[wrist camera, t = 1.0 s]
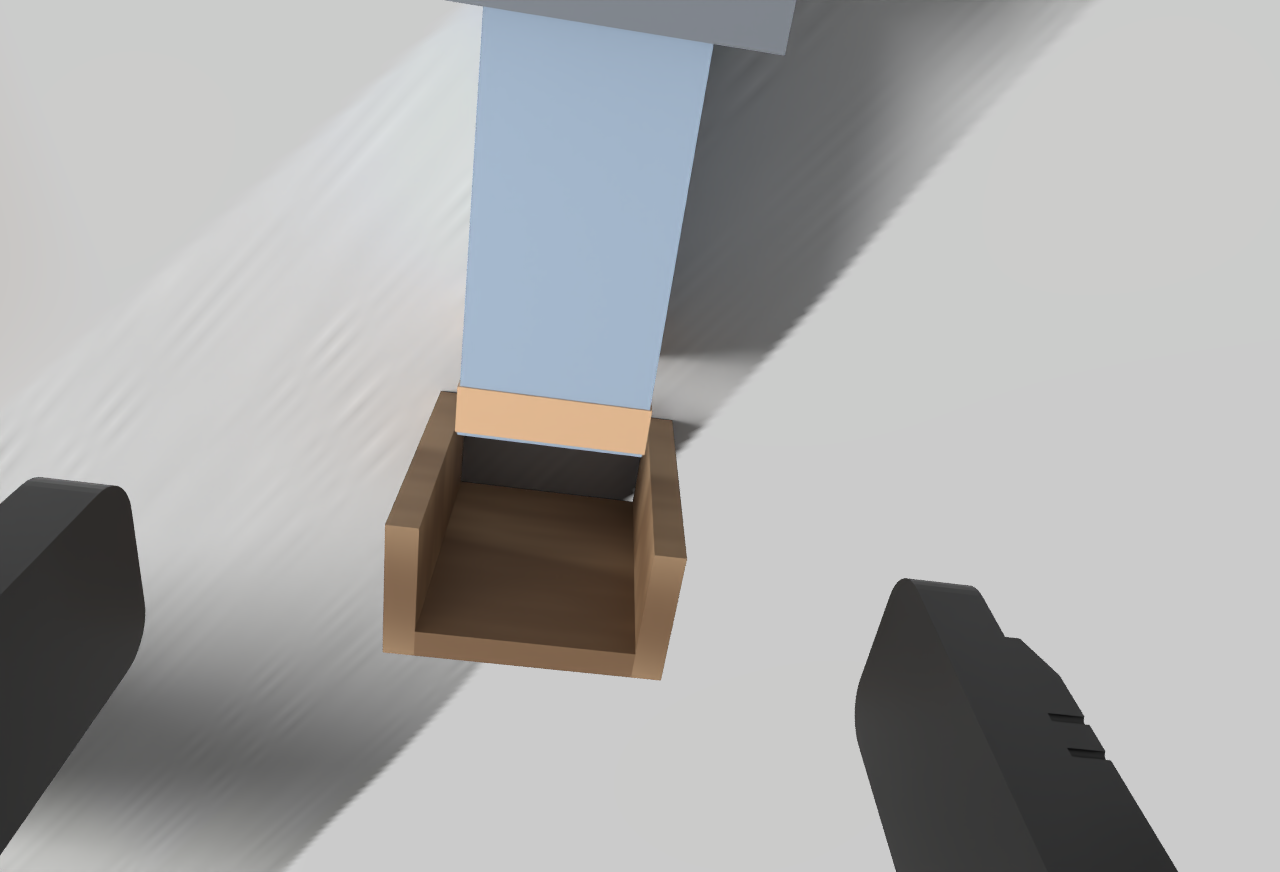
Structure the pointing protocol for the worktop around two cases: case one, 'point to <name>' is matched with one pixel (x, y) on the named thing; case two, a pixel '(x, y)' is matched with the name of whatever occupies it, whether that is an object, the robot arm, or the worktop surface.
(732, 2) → the blue-gray block
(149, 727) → the worktop surface
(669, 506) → the socket
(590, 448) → the tan-tipped blue bar
